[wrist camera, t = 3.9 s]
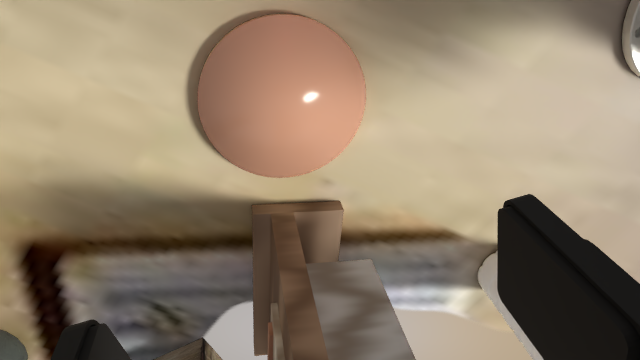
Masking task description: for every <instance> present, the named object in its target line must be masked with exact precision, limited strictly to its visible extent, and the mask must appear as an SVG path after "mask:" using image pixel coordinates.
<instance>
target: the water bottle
mask: <svg viewBox="0 0 640 360" xmlns="http://www.w3.org/2000/svg"><path fill="white" fill-rule="evenodd" d="M497 253H498V251H496V253H493V254H491V255H490V256H489V257H487V258H486V259H485V261H484V262H483V265H482V266H481V267H480V268H479V271H478V282H479V284H480V286H481V287H482V289H483V290H484V291H485V293H486V294H487V296H488V297H489V299H490V300H492V302H493V304H494V305H495V307H496V308H497V310H498V311H499V312H500V313H501V314H502V316H503V318H504V319H505V321H506V322H507V324H508V325H509V327H510V328H511V329H512V330H514V333H515V335H516V336H517V338H518V339H519V341H520V342H522V343H523V345H524V347H525V349H526V351H527V352H528V353H529V355H530V356H531V357H532V359H534V360H544V359H543V358H542V356H541V355H540V354H539V352H538V351H537V350H536V348H535V347H534V345H533V344H532V343H531V341H530V340H529V339H528V337H527V336H526V334H525V333H524V332H523V330H522V329H521V328H520V326H519V325H518V324H517V322H516V321H515V319H514V318H513V317H512V315H511V314H510V313H509V311H508V310H507V308H506V307H505V306H504V304H503V303H502V301H501V299H500V297H499V294H498V290H497Z"/></svg>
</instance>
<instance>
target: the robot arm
mask: <svg viewBox="0 0 640 360" xmlns="http://www.w3.org/2000/svg"><path fill="white" fill-rule="evenodd" d="M622 49H623V53H624V57H625V60H626V62H627V64H628V66H629V67H630V69H631V70H632V71H633V72H634V73H635V74H636V75H637V76H639V77H640V0H631V2H630V4H629V7H628V10H627V13H626V17H625V20H624V25H623V32H622ZM497 290H498V294H499V297H500V299H501V301H502V303H503V304H504V306H505V307H506V308H507V310H508V311H509V313H510V314H511V315H512V317H513V318H514V319H515V321H516V322H517V324H518V325H519V326H520V328H521V329H522V330H523V332H524V333H525V334H526V336H527V337H528V339H529V340H530V341H531V343H532V344H533V345H534V347H535V348H536V350H537V351H538V352H539V354H540V355H541V356H542V358H543V359H544V360H640V284H639V283H638V282H637V281H636V280H634V279H633V278H632V277H631V276H630V275H629V274H628V273H626V272H625V271H624V270H623V269H622V268H621V267H620V266H618V265H617V264H616V263H615V262H614V261H613V260H611V259H610V258H609V257H608V256H607V255H606V254H605V253H603V252H602V251H601V250H600V249H599V248H598V247H596V246H595V245H594V244H593V243H591V242H590V241H588V240H585V239H583V238H581V237H580V236H579V235H578V234H577V233H576V232H575V231H573V230H572V229H571V228H570V227H569V226H568V225H567V224H566V223H564V222H563V221H562V220H561V219H560V218H559V217H558V216H556V215H555V214H554V213H553V212H552V211H551V210H550V209H548V208H547V207H546V206H545V205H544V204H543V203H542V202H541V201H539V200H538V199H537V198H536V197H535V196H533V195H531V194H528V195H524V196H521V197H517V198H514V199H510V200H507V201H505V203H504V206H503V208H502V209H499V211H498V253H497ZM51 360H131V359H130V357H129V356H128V354H127V353H126V351H125V350H124V349H123V347H122V346H121V344H120V343H119V342H118V340H117V339H116V337H115V336H114V334H113V333H112V332H111V330H110V329H109V327H108V326H107V325H106V324H104V323H103V324H99V323H98V322H97V321H96V320H89V321H86V322H82V323H79V324H75V325H72V326H68V327H66V328H65V329H64V330H63V332H62V333H61V336H60V338H59V341H58V343H57V346H56V348H55V350H54V353H53V355H52V358H51Z"/></svg>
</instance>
